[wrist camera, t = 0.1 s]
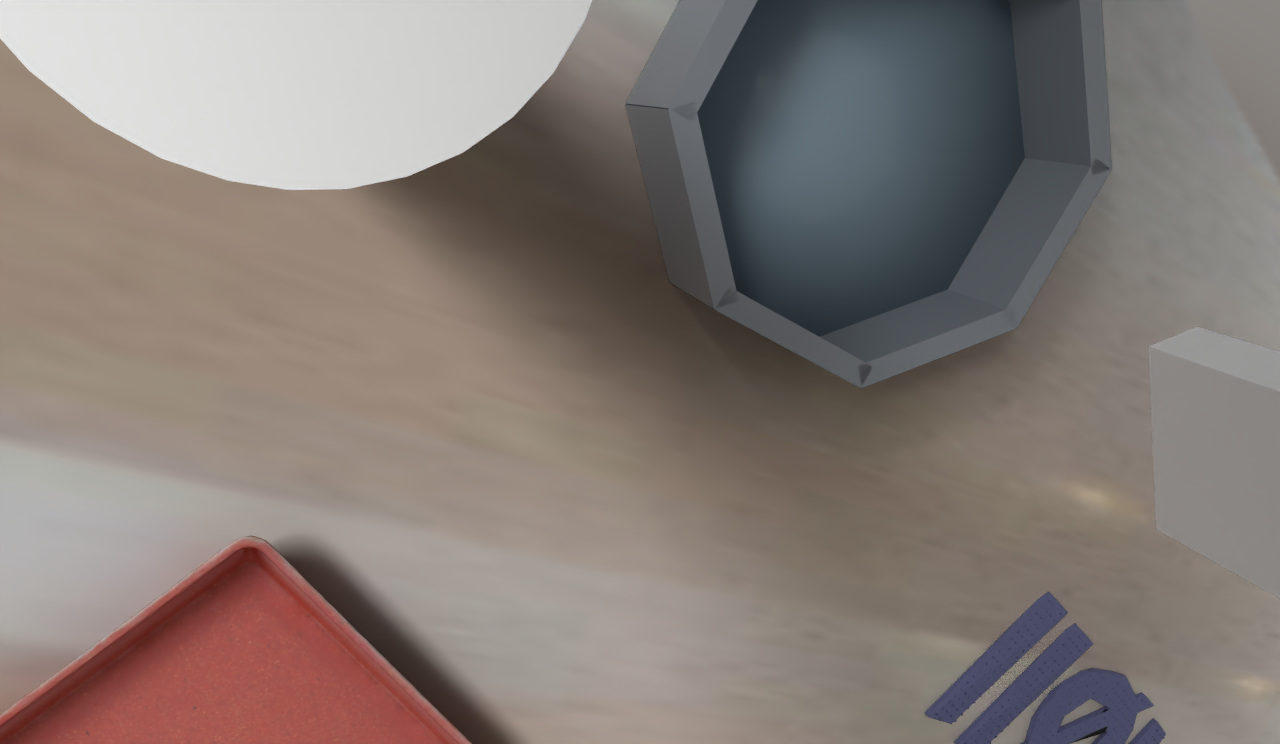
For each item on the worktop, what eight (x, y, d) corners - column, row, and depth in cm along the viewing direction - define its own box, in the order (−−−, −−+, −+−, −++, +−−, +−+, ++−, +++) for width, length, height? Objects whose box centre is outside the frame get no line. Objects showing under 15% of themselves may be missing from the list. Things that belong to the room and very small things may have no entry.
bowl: (589, -39, 35) (629, -56, 30) (1000, -147, 39) (1090, -176, 34) (697, 394, 42) (743, 433, 37) (1039, 266, 45) (1119, 288, 41)
